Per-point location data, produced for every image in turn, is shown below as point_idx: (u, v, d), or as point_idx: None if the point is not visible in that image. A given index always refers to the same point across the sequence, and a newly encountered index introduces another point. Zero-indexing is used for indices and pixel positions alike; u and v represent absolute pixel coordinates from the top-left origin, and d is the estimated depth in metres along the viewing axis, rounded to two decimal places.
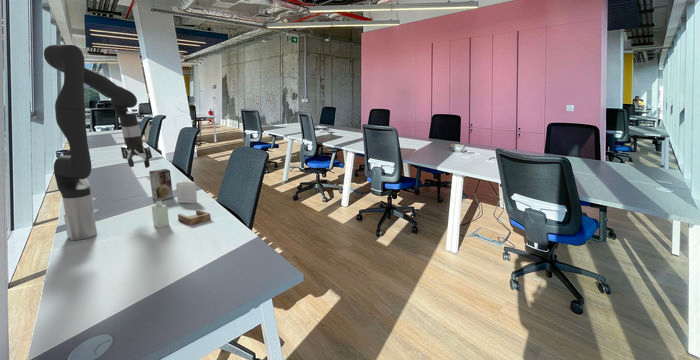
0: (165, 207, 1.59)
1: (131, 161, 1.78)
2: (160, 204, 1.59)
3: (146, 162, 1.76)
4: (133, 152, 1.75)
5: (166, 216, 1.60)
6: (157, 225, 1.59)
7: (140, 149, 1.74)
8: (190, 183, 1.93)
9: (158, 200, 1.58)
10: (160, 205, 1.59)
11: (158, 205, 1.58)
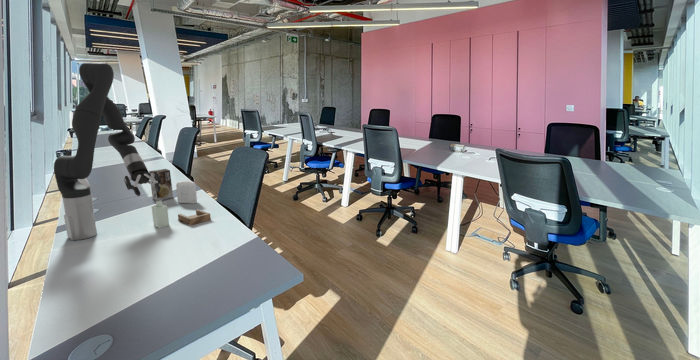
0: (165, 207, 1.59)
1: None
2: (160, 204, 1.59)
3: (158, 185, 1.68)
4: (141, 178, 1.65)
5: (166, 216, 1.60)
6: (157, 225, 1.59)
7: (149, 174, 1.68)
8: (190, 183, 1.93)
9: (158, 200, 1.58)
10: (160, 205, 1.59)
11: (158, 205, 1.58)
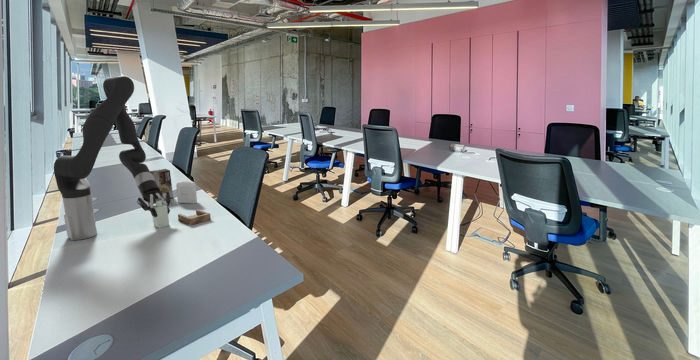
0: (165, 207, 1.59)
1: None
2: (160, 204, 1.59)
3: (167, 207, 1.62)
4: (154, 197, 1.61)
5: (166, 216, 1.60)
6: (157, 225, 1.59)
7: (162, 194, 1.64)
8: (190, 183, 1.93)
9: (158, 200, 1.58)
10: (160, 205, 1.59)
11: (158, 205, 1.58)
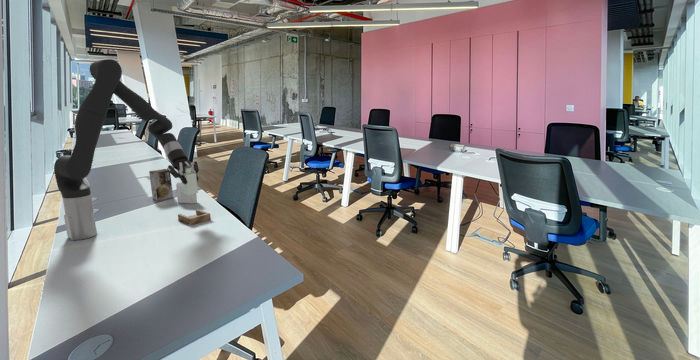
0: (194, 175, 1.64)
1: None
2: (189, 171, 1.63)
3: (196, 175, 1.66)
4: (183, 165, 1.65)
5: (195, 183, 1.65)
6: (187, 192, 1.63)
7: (190, 163, 1.68)
8: None
9: (188, 167, 1.62)
10: (189, 172, 1.63)
11: (187, 172, 1.63)
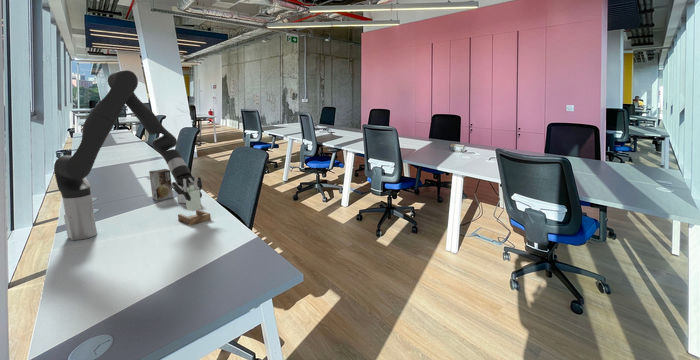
0: (198, 191, 1.65)
1: None
2: (193, 188, 1.64)
3: None
4: (186, 182, 1.67)
5: (199, 200, 1.66)
6: (190, 208, 1.65)
7: (194, 179, 1.70)
8: None
9: (191, 184, 1.64)
10: (193, 189, 1.65)
11: (191, 189, 1.64)
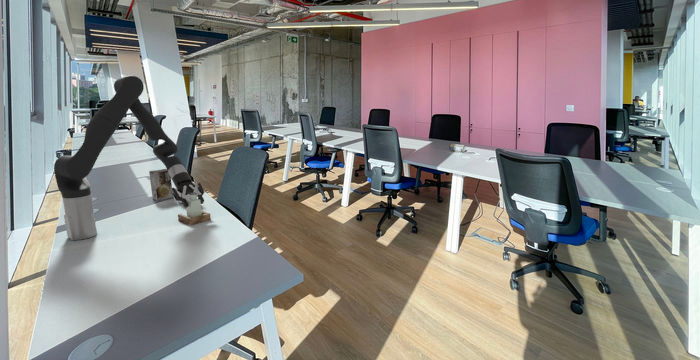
0: (198, 201, 1.66)
1: None
2: (194, 198, 1.65)
3: (201, 197, 1.69)
4: (187, 189, 1.67)
5: (199, 209, 1.67)
6: None
7: (194, 185, 1.70)
8: None
9: (192, 194, 1.65)
10: (194, 199, 1.66)
11: (192, 199, 1.65)
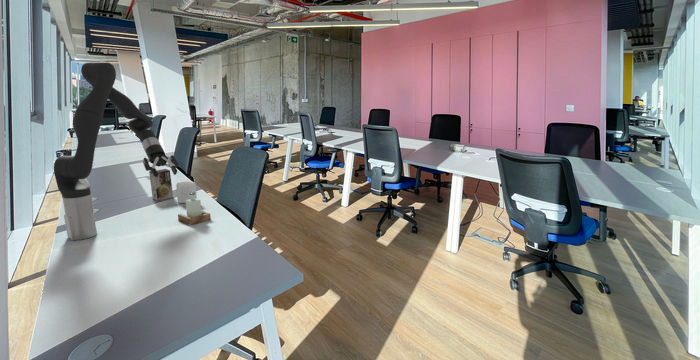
0: (198, 201, 1.66)
1: None
2: (194, 198, 1.65)
3: (175, 168, 1.74)
4: (159, 160, 1.71)
5: (199, 209, 1.67)
6: None
7: (166, 157, 1.75)
8: (190, 183, 1.93)
9: (192, 194, 1.65)
10: (194, 199, 1.66)
11: (192, 199, 1.65)
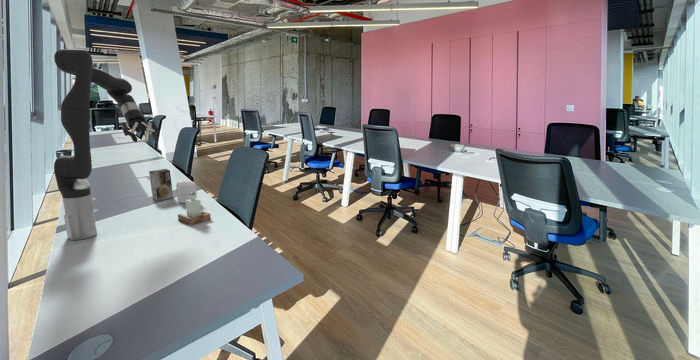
0: (198, 201, 1.66)
1: None
2: (194, 198, 1.65)
3: (155, 134, 1.69)
4: (138, 126, 1.66)
5: (199, 209, 1.67)
6: None
7: (146, 123, 1.70)
8: (190, 183, 1.93)
9: (192, 194, 1.65)
10: (194, 199, 1.66)
11: (192, 199, 1.65)
